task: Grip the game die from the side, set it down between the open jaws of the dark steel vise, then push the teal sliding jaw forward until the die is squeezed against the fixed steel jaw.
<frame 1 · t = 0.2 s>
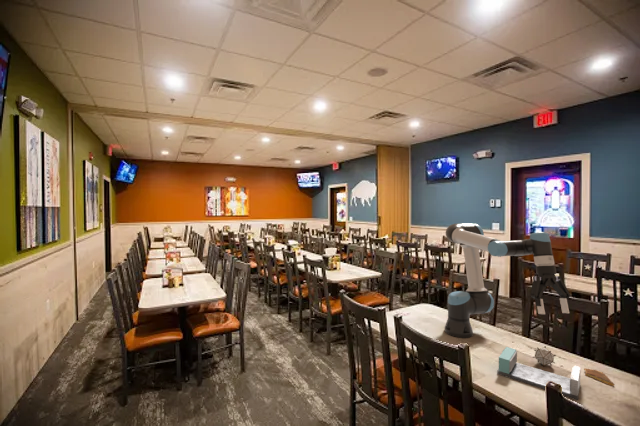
hand: (553, 313, 139), 26 cm above the table, tool tilted 15°, fingers open, 13 cm apart
game die: (544, 365, 146), on the table
shard: (600, 378, 135), on the table
vise bed: (540, 380, 132), on the table
sliding jaw: (508, 359, 141), point 5 cm above the table, slide at 0.0 cm
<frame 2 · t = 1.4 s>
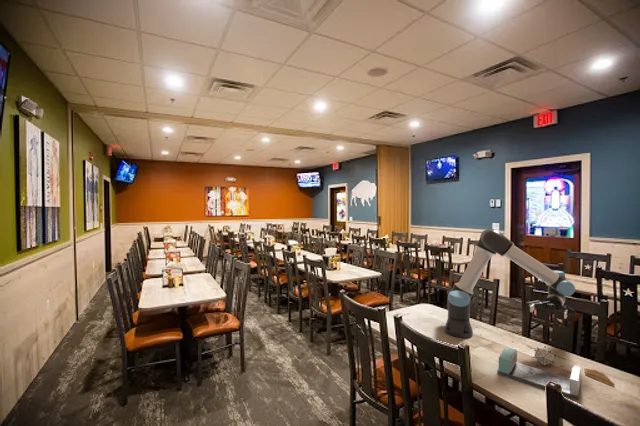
hand: (547, 312, 152), 22 cm above the table, tool horizontal, fingers open, 13 cm apart
nothing on the table moved.
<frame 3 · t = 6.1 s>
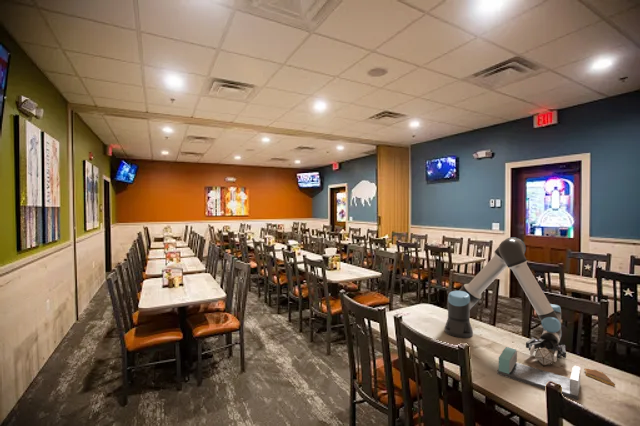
hand: (542, 355, 142), 6 cm above the table, tool horizontal, fingers closed on game die, 8 cm apart
game die: (544, 365, 146), on the table, touching gripper
everything else where it was.
when the fingers open (9 cm above the table, at t = 11.5 s): game die drops 1 cm, resting on vise bed.
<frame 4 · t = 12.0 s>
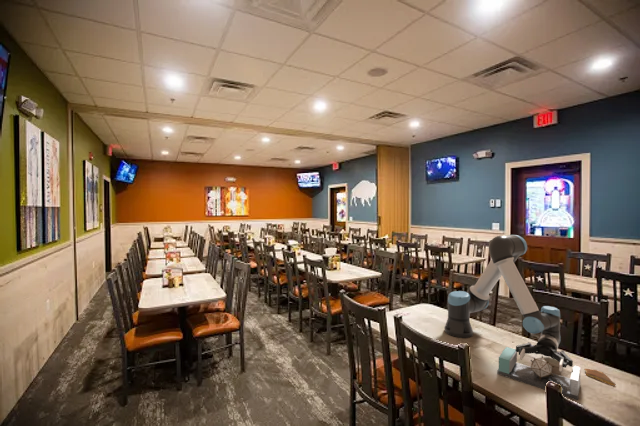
hand: (539, 362, 130), 9 cm above the table, tool horizontal, fingers open, 13 cm apart
game die: (541, 377, 133), point 1 cm above the table, touching vise bed
everything else where it was.
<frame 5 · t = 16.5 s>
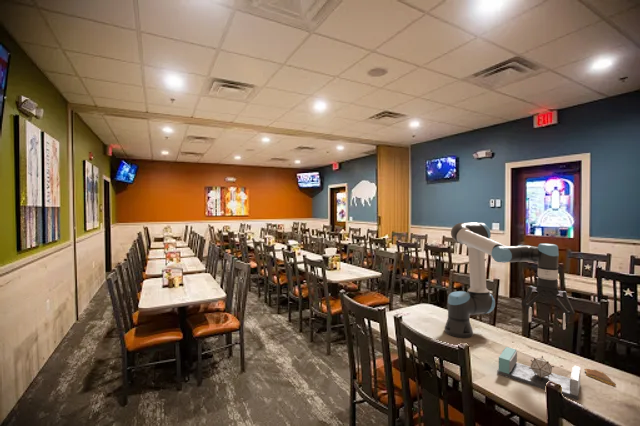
hand: (546, 325, 142), 20 cm above the table, tool pointing down, fingers open, 12 cm apart
nothing on the table moved.
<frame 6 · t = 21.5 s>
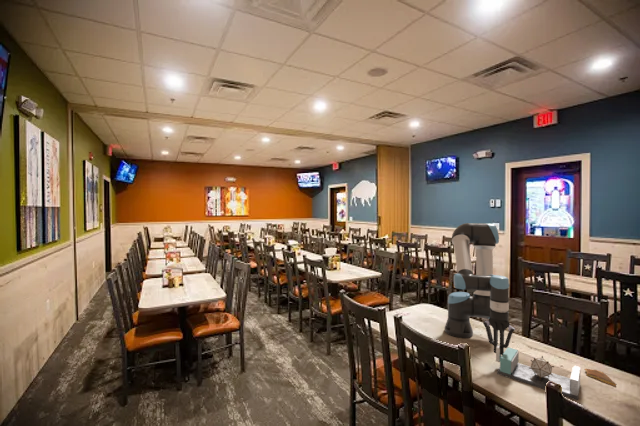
hand: (498, 360, 143), 3 cm above the table, tool pointing down, fingers closed
sliding jaw: (509, 360, 140), point 5 cm above the table, slide at 0.6 cm, touching gripper
everything else where it was.
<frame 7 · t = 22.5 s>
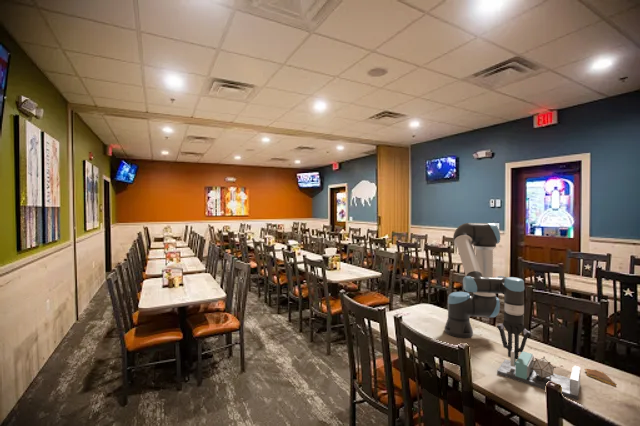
hand: (513, 365, 139), 3 cm above the table, tool pointing down, fingers closed
sliding jaw: (524, 364, 136), point 5 cm above the table, slide at 6.4 cm, touching gripper
everything else where it was.
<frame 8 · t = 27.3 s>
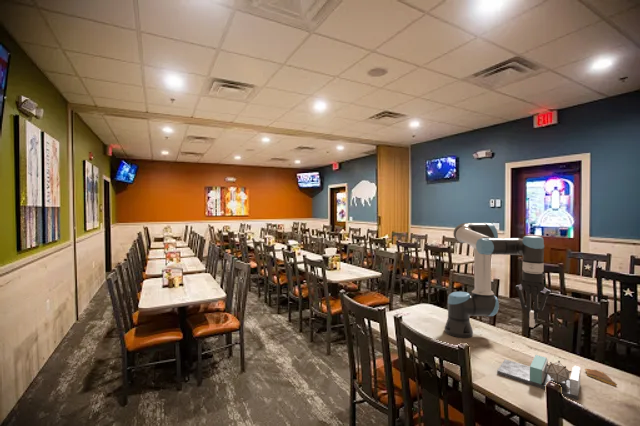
hand: (532, 326, 134), 22 cm above the table, tool pointing down, fingers closed
game die: (558, 382, 129), point 1 cm above the table, touching vise bed
sliding jaw: (539, 369, 133), point 5 cm above the table, slide at 11.6 cm
everything else where it was.
at the end: sliding jaw slide at 11.6 cm; game die 0.4 cm from the target spot on the vise bed, point 1.3 cm above the vise bed's base; game die tilted 1° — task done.
